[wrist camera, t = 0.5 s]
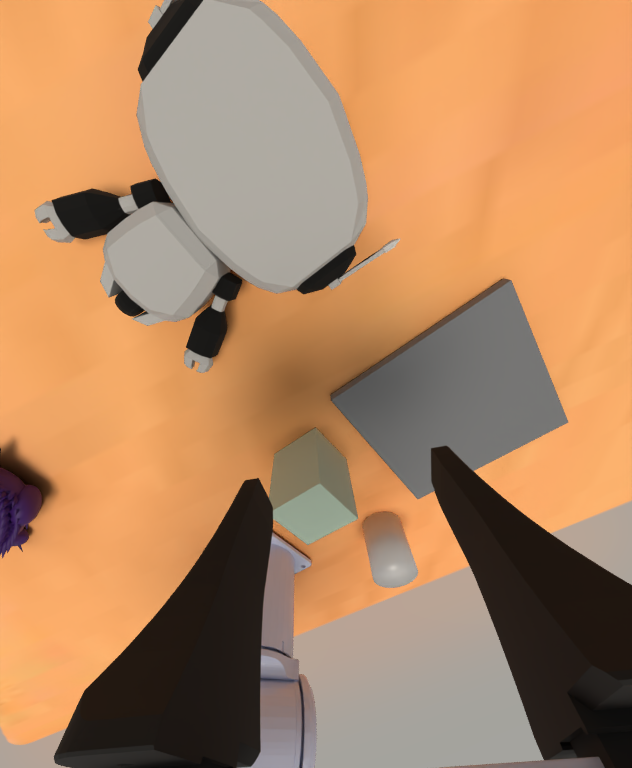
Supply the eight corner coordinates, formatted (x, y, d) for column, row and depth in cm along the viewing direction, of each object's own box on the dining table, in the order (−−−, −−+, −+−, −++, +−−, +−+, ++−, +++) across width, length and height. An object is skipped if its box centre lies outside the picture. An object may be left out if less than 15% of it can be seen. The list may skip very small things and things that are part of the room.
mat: (414, 492, 28) (417, 499, 27) (330, 395, 22) (331, 400, 21) (560, 416, 24) (568, 422, 24) (503, 278, 19) (511, 280, 18)
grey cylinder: (375, 541, 31) (387, 592, 27) (354, 523, 30) (364, 574, 25) (407, 525, 30) (425, 576, 26) (388, 505, 29) (404, 556, 24)
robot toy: (216, 364, 22) (393, 231, 17) (193, 397, 18) (415, 236, 13) (62, 211, 17) (252, -35, 12) (-16, 211, 13) (220, -155, 8)
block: (306, 482, 27) (307, 545, 21) (274, 453, 25) (266, 514, 19) (346, 459, 25) (358, 518, 20) (315, 427, 24) (319, 483, 18)
